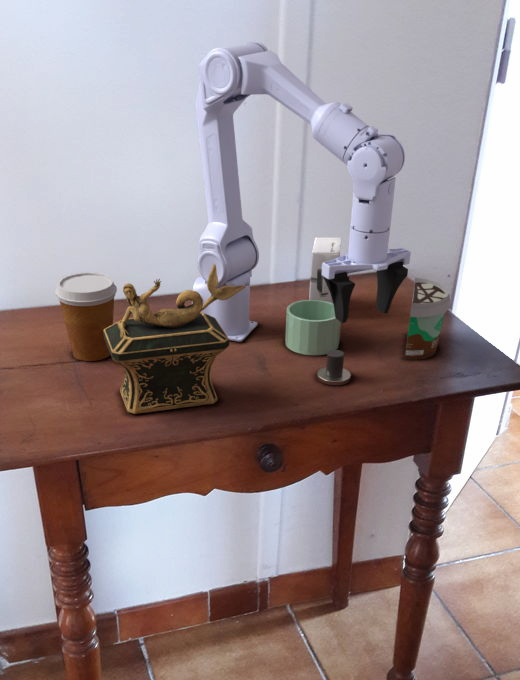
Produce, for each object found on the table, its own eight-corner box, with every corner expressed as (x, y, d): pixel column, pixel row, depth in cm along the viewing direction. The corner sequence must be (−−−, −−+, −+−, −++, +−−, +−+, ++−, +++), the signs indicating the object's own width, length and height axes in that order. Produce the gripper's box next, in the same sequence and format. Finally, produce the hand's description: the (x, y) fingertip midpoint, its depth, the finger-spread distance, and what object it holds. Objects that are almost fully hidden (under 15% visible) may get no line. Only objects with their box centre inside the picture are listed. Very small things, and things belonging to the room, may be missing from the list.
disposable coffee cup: (51, 353, 139) (41, 282, 132) (97, 335, 145) (90, 266, 138) (87, 371, 134) (79, 298, 127) (133, 352, 140) (128, 282, 133)
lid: (312, 381, 132) (314, 357, 130) (322, 367, 136) (324, 343, 134) (345, 388, 131) (347, 363, 128) (354, 373, 135) (356, 349, 132)
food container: (442, 367, 137) (452, 308, 131) (404, 363, 138) (411, 304, 132) (443, 335, 147) (452, 279, 141) (407, 332, 148) (415, 276, 142)
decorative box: (118, 420, 122) (107, 288, 110) (107, 389, 129) (96, 262, 118) (252, 402, 127) (255, 273, 115) (234, 373, 134) (235, 250, 123)
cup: (277, 349, 141) (278, 315, 138) (295, 329, 148) (296, 296, 145) (329, 359, 139) (332, 324, 135) (345, 337, 146) (348, 304, 142)
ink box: (311, 297, 160) (314, 235, 153) (337, 299, 160) (342, 236, 153) (307, 316, 153) (311, 251, 146) (334, 318, 153) (339, 253, 146)
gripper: (343, 242, 117) (336, 334, 125) (427, 227, 123) (415, 316, 131) (316, 227, 122) (311, 317, 130) (398, 214, 128) (388, 300, 136)
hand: (361, 315), depth 131 cm, fingers open, 7 cm apart
